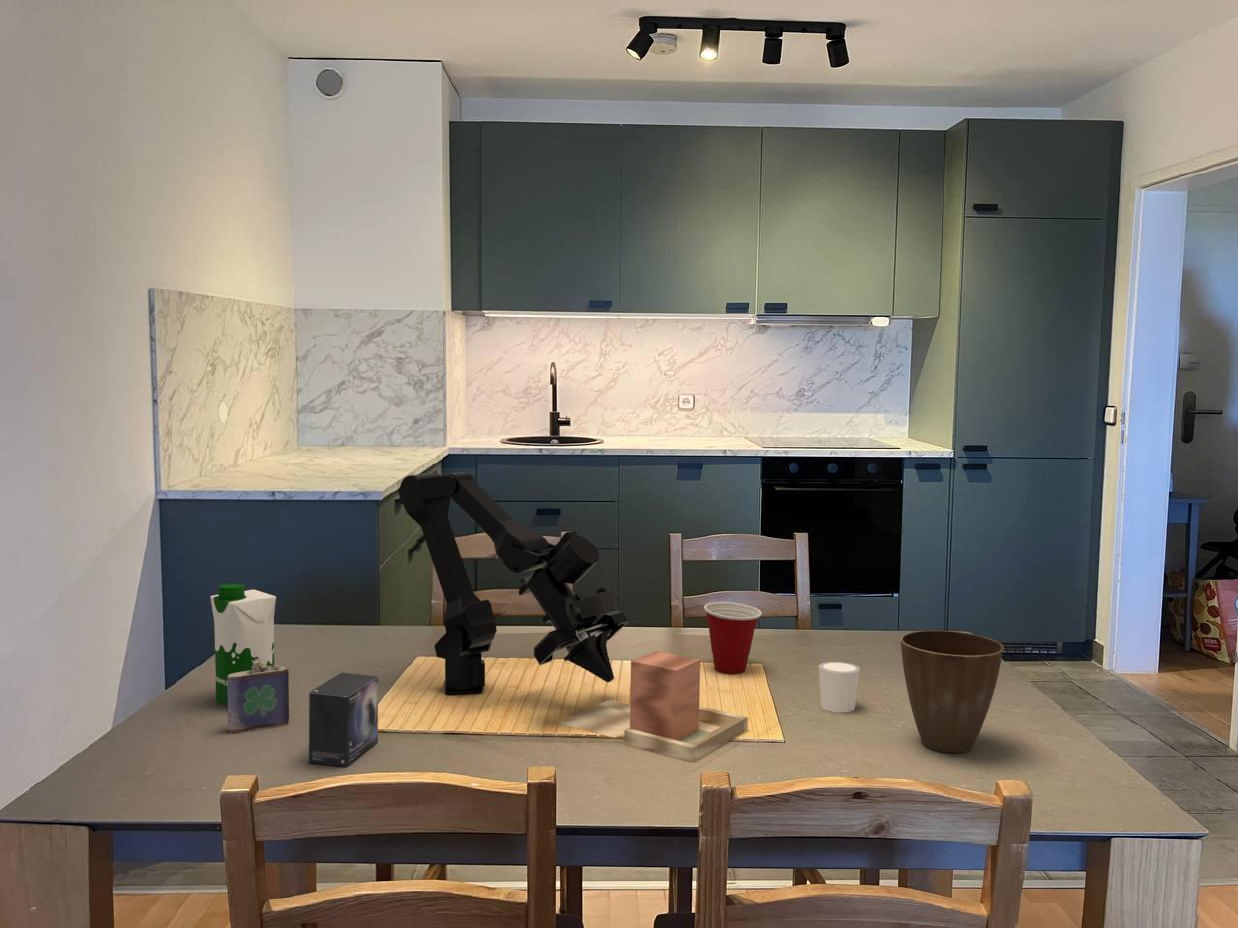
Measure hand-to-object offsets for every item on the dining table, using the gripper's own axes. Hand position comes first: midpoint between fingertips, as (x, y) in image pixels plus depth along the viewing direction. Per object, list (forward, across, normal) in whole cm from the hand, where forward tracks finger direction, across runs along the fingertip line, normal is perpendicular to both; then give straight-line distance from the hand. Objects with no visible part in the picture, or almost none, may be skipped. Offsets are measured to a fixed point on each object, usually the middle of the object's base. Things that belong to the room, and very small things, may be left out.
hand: (611, 680), depth 168 cm
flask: (-25, -33, +37) cm, 55 cm away
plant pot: (+37, +25, -28) cm, 52 cm away
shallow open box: (+10, 0, 0) cm, 10 cm away
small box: (-11, -32, +23) cm, 41 cm away
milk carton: (-33, -27, +46) cm, 62 cm away
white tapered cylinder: (+23, +31, -13) cm, 41 cm away
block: (+11, 0, -3) cm, 12 cm away
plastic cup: (+6, +39, +5) cm, 40 cm away
